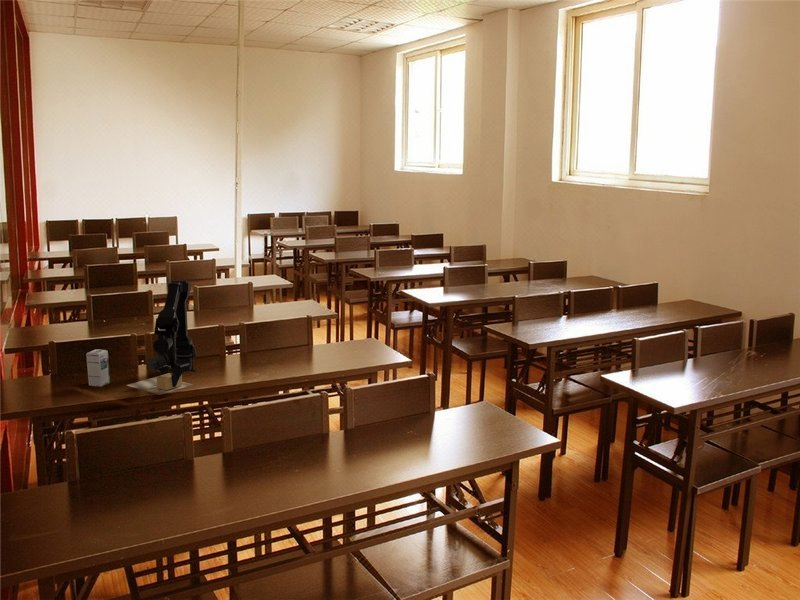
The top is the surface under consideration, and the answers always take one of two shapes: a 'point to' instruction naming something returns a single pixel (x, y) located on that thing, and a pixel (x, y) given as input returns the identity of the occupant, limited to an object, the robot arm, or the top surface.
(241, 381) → the top surface
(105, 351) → the syrup box
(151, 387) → the grey patterned flat panel
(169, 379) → the sanding block
